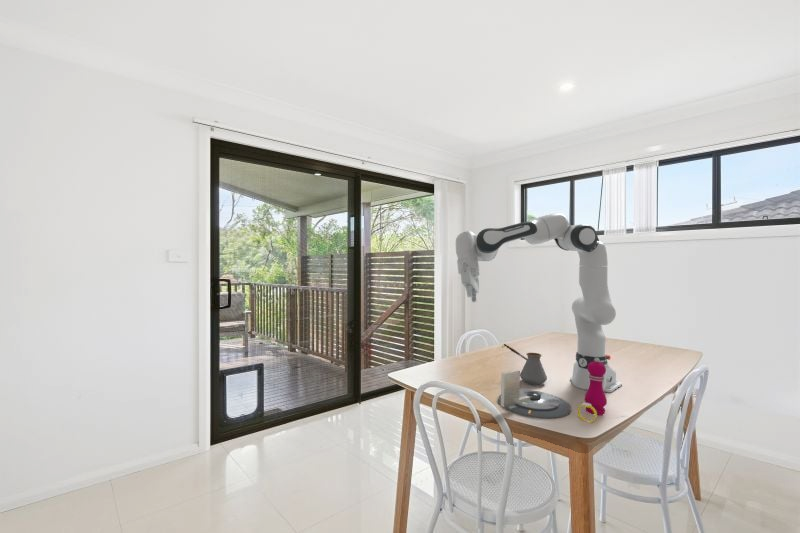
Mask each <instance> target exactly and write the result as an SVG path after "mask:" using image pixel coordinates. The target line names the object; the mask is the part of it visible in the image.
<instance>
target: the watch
mask: <svg viewBox="0 0 800 533" xmlns="http://www.w3.org/2000/svg"><path fill="white" fill-rule="evenodd" d="M582 407H583V408H586V407H588V408H591V409H592V410H593V412H594V414H595V415H594V418H593V419H592V420H590V422H591V423H594V422H595V421H596V420H597V417H598V415H597V412H596V410H595V409H594V408H593V407H592V405H591V404H590V403H586V402H583V403H582V404H580V405H579V407H578V408H577V416H578V417H579V418H580V420H581V421H583V420H585V421H584V422H587V421H589V419H587V418H584V417H583V416H582V415H581V412H580V411H581V408H582ZM590 422H589V423H590Z"/></svg>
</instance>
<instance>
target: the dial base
mask: <svg viewBox="0 0 800 533" xmlns="http://www.w3.org/2000/svg"><path fill="white" fill-rule="evenodd" d="M546 393H547V392H546ZM547 394H550V393H547ZM550 395H552V396H554V397H556V398H557V399H558V400H559V407H558V408H557V409H554V410H549V411H538V410H531V409H526V408H522V407H520V406H517V405H515V404H514V405H511V406H507V407H503V409H506V410H507V411H509V412H511V413H514V414H517V415H520V416H523V417H529V418H532V419H543V420H547V419H548V420H555V419H560V418H565V417H567V416H569V415H570V414H571V412H572V407H571V404H570V403H569V402H568V401H567V400H565V399H563V398H562V397H559V396H557V395H553V394H550ZM498 403H499V405H500V406H501V393H500V394H499V396H498Z"/></svg>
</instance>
